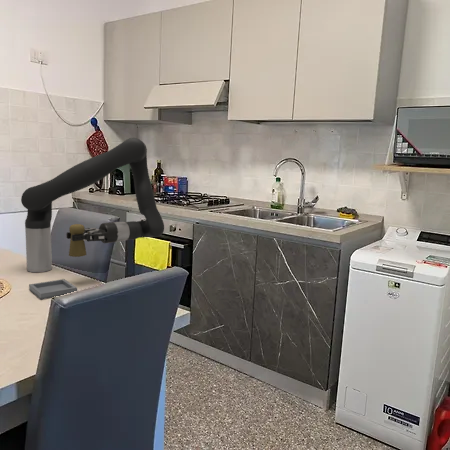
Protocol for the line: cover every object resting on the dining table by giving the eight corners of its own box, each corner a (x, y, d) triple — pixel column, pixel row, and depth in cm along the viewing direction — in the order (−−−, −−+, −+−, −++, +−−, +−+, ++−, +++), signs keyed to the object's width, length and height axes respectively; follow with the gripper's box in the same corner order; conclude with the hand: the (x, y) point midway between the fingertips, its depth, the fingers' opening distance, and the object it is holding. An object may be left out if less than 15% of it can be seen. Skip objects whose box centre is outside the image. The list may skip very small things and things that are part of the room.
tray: (29, 290, 151) (29, 284, 151) (64, 284, 159) (64, 278, 159) (40, 299, 142) (40, 293, 142) (77, 293, 150) (77, 287, 150)
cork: (81, 257, 155) (80, 226, 153) (65, 255, 156) (64, 225, 154) (89, 253, 161) (89, 223, 159) (74, 252, 162) (73, 222, 160)
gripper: (105, 219, 171) (61, 223, 160) (123, 225, 160) (77, 229, 149) (106, 238, 172) (62, 243, 161) (123, 245, 162) (77, 251, 151)
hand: (69, 236), depth 155 cm, fingers closed on cork, 4 cm apart
